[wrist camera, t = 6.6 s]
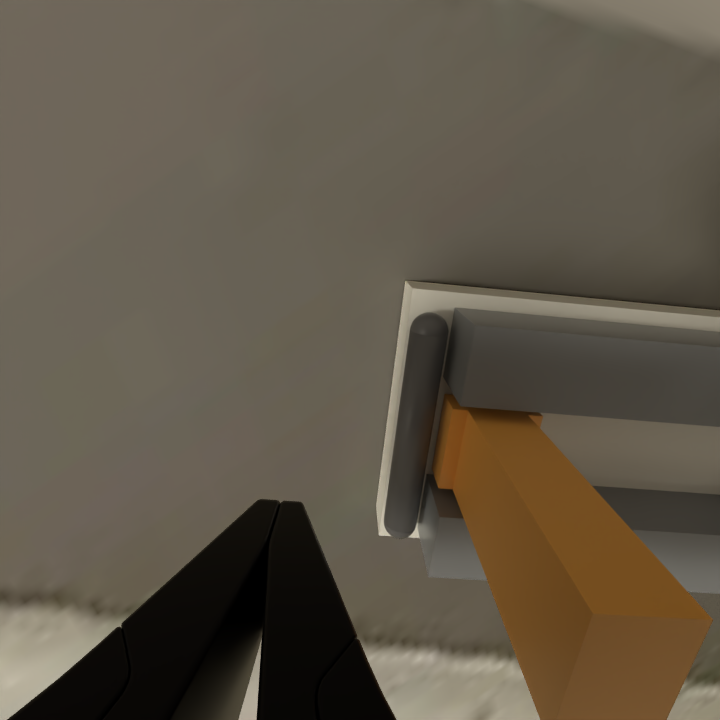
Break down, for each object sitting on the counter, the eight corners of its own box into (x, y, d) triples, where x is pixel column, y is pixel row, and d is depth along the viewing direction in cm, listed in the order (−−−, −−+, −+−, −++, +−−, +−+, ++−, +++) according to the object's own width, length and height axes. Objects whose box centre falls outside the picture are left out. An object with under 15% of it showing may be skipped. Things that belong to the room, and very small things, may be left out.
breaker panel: (784, 316, 13) (927, 349, 10) (696, 526, 16) (788, 608, 13) (405, 280, 13) (425, 302, 10) (376, 505, 15) (383, 585, 12)
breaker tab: (528, 400, 12) (742, 621, 6) (510, 473, 13) (680, 744, 6) (444, 393, 12) (562, 611, 5) (431, 468, 13) (520, 739, 6)
